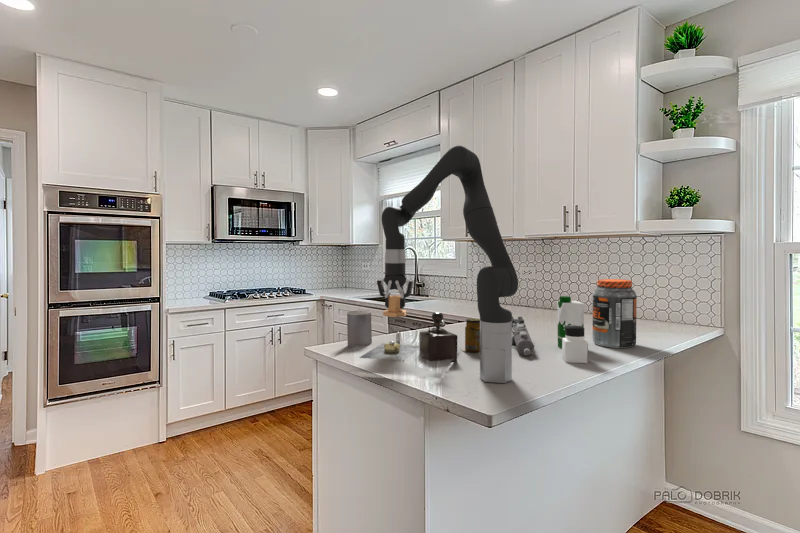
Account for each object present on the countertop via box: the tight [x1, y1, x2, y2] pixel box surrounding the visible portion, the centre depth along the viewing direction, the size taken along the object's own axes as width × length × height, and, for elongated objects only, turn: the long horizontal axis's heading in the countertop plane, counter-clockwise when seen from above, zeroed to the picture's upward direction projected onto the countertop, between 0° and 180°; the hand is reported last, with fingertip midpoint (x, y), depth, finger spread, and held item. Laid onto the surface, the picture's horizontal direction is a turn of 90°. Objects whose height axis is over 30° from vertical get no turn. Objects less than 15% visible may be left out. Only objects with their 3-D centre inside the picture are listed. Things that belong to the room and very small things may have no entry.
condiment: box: [460, 318, 480, 355], centre depth 163 cm, size 7×8×12 cm
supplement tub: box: [592, 278, 638, 349], centre depth 173 cm, size 16×16×26 cm
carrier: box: [359, 331, 419, 362], centre depth 159 cm, size 24×16×7 cm, turn 163°
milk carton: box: [556, 295, 585, 350], centre depth 167 cm, size 9×9×20 cm
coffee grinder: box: [418, 311, 458, 364], centre depth 148 cm, size 16×11×18 cm
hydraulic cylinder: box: [512, 316, 535, 356], centre depth 170 cm, size 7×37×10 cm, turn 172°
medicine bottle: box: [561, 325, 589, 364], centre depth 149 cm, size 7×7×12 cm
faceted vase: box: [382, 294, 408, 318], centre depth 160 cm, size 8×8×7 cm
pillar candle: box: [346, 308, 373, 349], centre depth 174 cm, size 10×10×15 cm
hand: (395, 307), depth 160 cm, fingers closed on faceted vase, 4 cm apart
